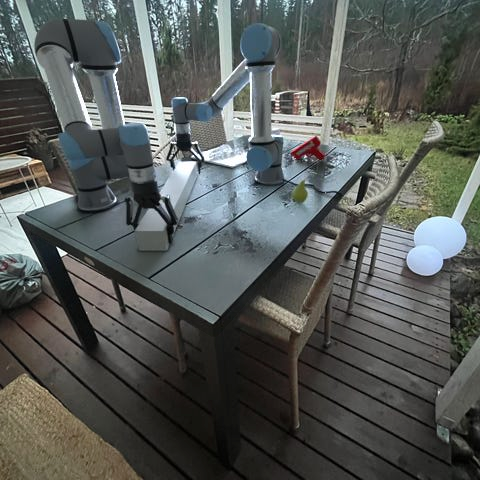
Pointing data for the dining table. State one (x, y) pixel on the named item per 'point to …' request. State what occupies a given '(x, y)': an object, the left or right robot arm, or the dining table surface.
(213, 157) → the relief map
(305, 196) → the fruit
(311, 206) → the dining table surface
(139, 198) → the left robot arm
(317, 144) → the toy gun
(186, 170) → the long white beam
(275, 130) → the ink box
